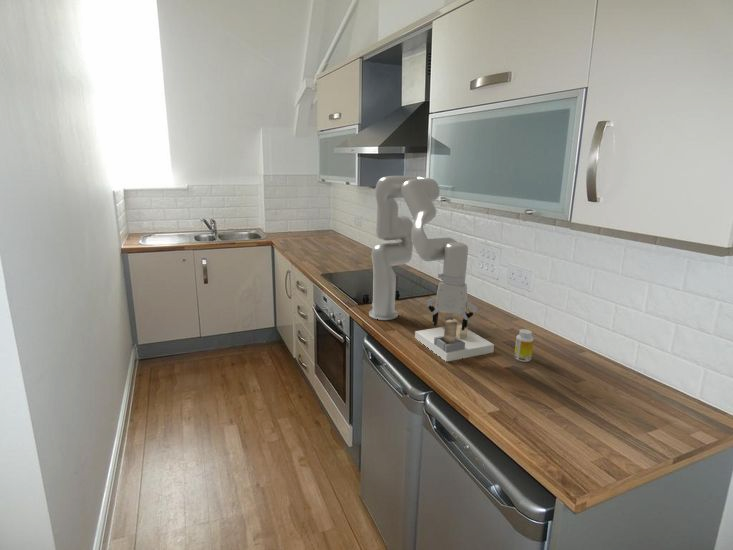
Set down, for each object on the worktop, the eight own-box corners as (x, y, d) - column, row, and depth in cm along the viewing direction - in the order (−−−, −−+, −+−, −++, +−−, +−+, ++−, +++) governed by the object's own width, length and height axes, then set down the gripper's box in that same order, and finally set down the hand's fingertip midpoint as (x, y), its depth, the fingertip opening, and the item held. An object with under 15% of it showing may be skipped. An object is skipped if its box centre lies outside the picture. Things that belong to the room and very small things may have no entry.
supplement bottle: (534, 360, 153) (538, 332, 150) (523, 363, 150) (526, 335, 148) (521, 354, 158) (525, 327, 155) (510, 357, 155) (513, 329, 152)
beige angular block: (443, 327, 172) (443, 317, 171) (450, 326, 174) (451, 316, 173) (459, 338, 162) (460, 328, 161) (467, 337, 163) (467, 327, 162)
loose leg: (441, 345, 157) (442, 321, 154) (450, 343, 158) (452, 319, 156) (447, 349, 153) (449, 325, 151) (457, 347, 155) (459, 323, 152)
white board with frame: (414, 338, 169) (415, 325, 168) (458, 331, 177) (459, 318, 176) (446, 361, 151) (447, 346, 149) (493, 352, 159) (494, 338, 157)
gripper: (425, 278, 149) (422, 326, 154) (478, 286, 143) (473, 335, 148) (430, 273, 156) (427, 319, 160) (481, 279, 150) (476, 327, 155)
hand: (449, 326), depth 154 cm, fingers open, 9 cm apart
